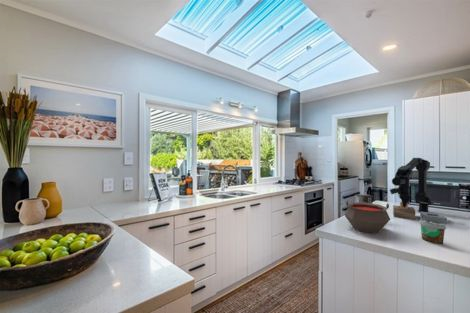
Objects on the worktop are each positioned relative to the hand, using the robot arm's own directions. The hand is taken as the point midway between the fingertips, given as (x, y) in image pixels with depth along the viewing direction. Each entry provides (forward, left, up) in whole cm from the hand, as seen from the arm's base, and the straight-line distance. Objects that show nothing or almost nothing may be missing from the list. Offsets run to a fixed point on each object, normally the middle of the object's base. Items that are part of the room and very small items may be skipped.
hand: (403, 206), depth 162 cm
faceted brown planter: (+46, -21, -7) cm, 51 cm away
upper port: (0, 0, -7) cm, 7 cm away
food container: (+49, +7, -7) cm, 50 cm away
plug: (0, 0, -4) cm, 4 cm away
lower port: (0, +16, -7) cm, 17 cm away
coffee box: (+21, -24, -7) cm, 33 cm away
